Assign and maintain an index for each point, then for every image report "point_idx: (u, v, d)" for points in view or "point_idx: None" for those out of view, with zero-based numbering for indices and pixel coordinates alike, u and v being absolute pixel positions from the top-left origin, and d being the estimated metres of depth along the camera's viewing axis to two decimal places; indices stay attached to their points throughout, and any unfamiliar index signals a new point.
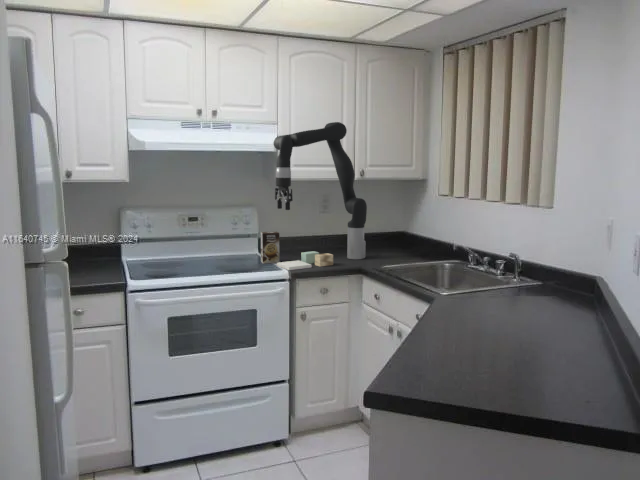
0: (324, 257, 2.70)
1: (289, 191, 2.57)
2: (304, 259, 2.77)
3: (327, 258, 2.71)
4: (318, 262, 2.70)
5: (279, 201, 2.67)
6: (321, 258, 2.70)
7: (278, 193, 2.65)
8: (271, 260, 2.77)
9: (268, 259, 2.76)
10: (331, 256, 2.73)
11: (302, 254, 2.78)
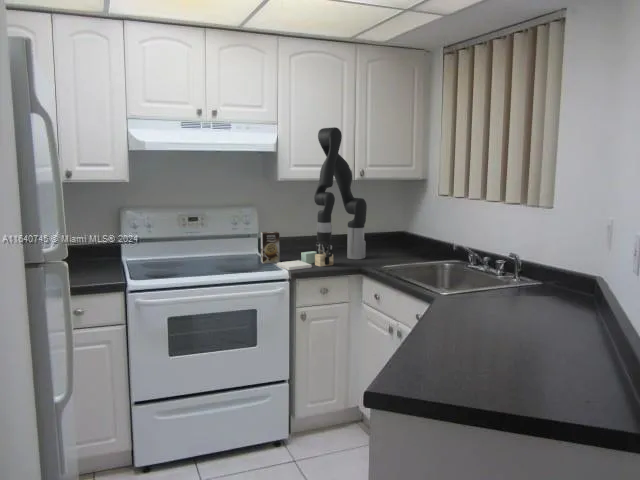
0: (324, 257, 2.70)
1: (330, 248, 2.67)
2: (304, 259, 2.77)
3: None
4: (318, 262, 2.70)
5: None
6: (321, 258, 2.69)
7: (319, 247, 2.73)
8: (271, 260, 2.77)
9: (268, 259, 2.76)
10: (331, 256, 2.73)
11: (302, 254, 2.78)
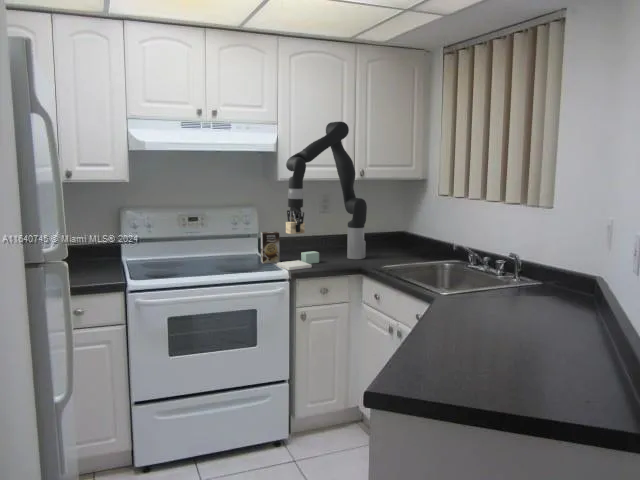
0: (295, 224, 2.63)
1: (301, 215, 2.59)
2: (304, 259, 2.77)
3: None
4: (289, 230, 2.63)
5: None
6: (292, 225, 2.62)
7: (290, 214, 2.66)
8: (271, 260, 2.77)
9: (268, 259, 2.76)
10: (302, 224, 2.65)
11: (302, 254, 2.78)
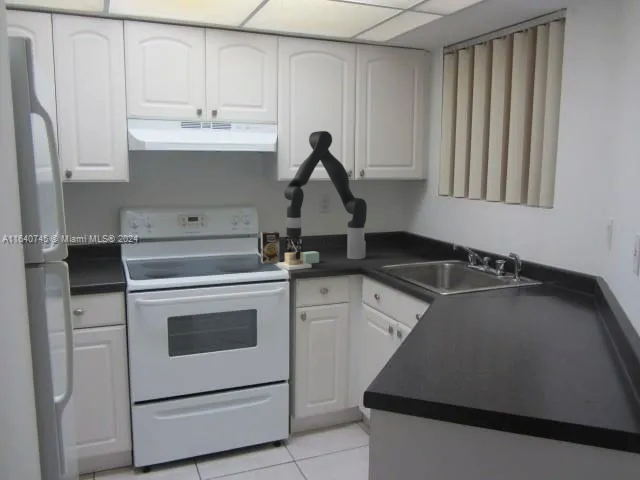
0: (294, 255, 2.65)
1: (300, 241, 2.61)
2: (304, 259, 2.77)
3: None
4: (288, 261, 2.65)
5: (289, 249, 2.71)
6: (290, 256, 2.65)
7: (289, 242, 2.68)
8: (271, 260, 2.77)
9: (268, 259, 2.76)
10: (301, 254, 2.68)
11: None
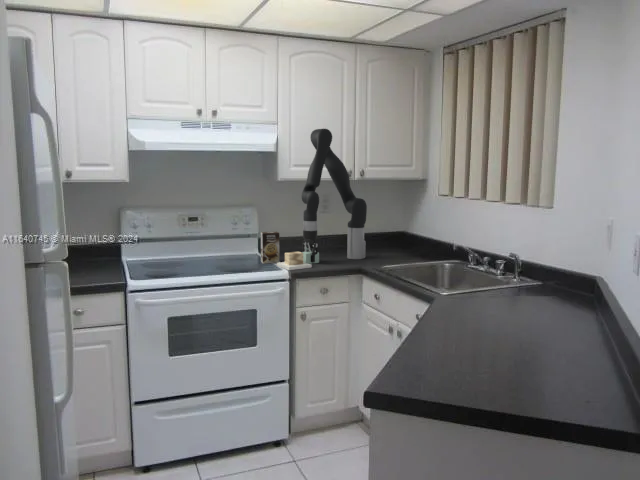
0: (294, 255, 2.65)
1: (316, 246, 2.73)
2: (304, 259, 2.77)
3: (297, 256, 2.66)
4: (288, 261, 2.65)
5: None
6: (290, 256, 2.65)
7: (305, 245, 2.79)
8: (271, 260, 2.77)
9: (268, 259, 2.76)
10: (301, 254, 2.68)
11: None
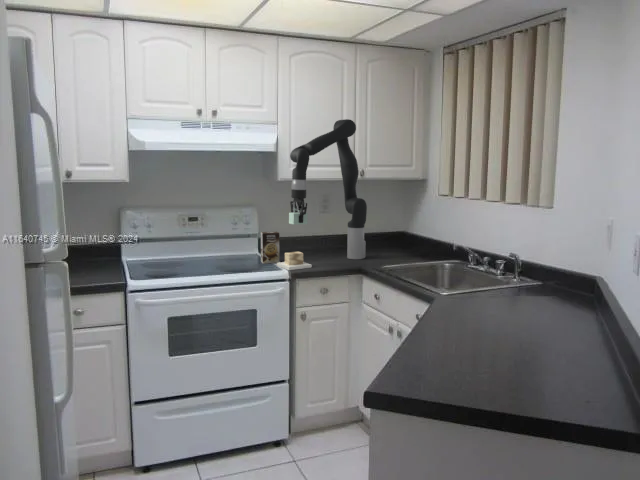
0: (294, 255, 2.65)
1: (304, 205, 2.62)
2: (292, 219, 2.66)
3: (297, 256, 2.66)
4: (288, 261, 2.65)
5: None
6: (290, 256, 2.65)
7: (293, 205, 2.69)
8: (271, 260, 2.77)
9: (268, 259, 2.76)
10: (301, 254, 2.68)
11: (290, 214, 2.68)
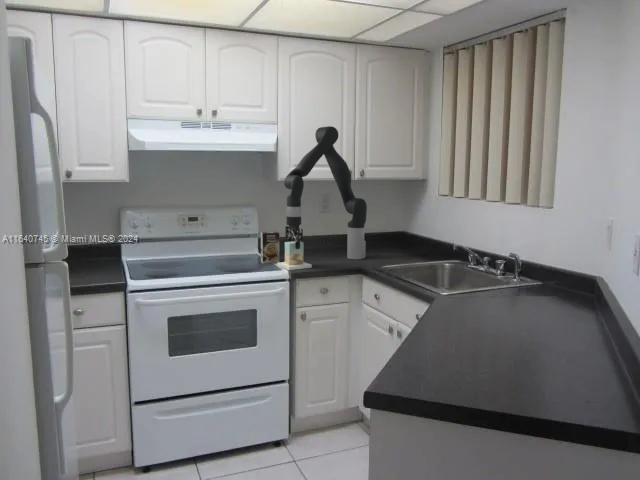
0: (294, 255, 2.65)
1: (300, 231, 2.60)
2: (288, 249, 2.65)
3: (297, 256, 2.66)
4: (288, 261, 2.65)
5: (290, 239, 2.70)
6: (290, 256, 2.65)
7: (289, 231, 2.67)
8: (271, 260, 2.77)
9: (268, 259, 2.76)
10: (301, 254, 2.68)
11: (286, 244, 2.66)
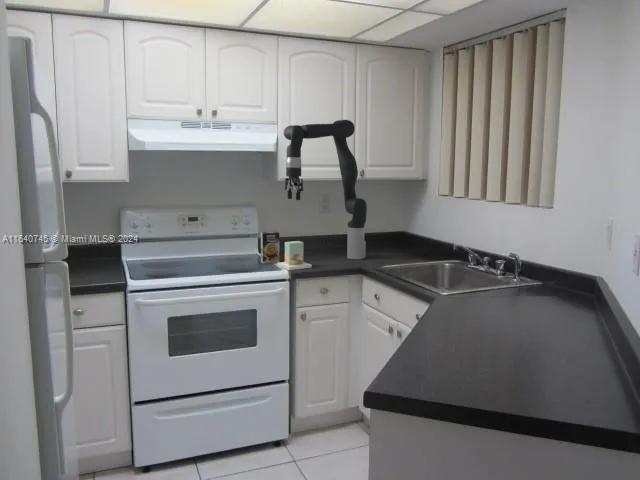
0: (294, 255, 2.65)
1: (300, 181, 2.57)
2: (288, 249, 2.65)
3: (297, 256, 2.66)
4: (288, 261, 2.65)
5: (289, 191, 2.67)
6: (290, 256, 2.65)
7: (288, 183, 2.64)
8: (271, 260, 2.77)
9: (268, 259, 2.76)
10: (301, 254, 2.68)
11: (286, 244, 2.66)
